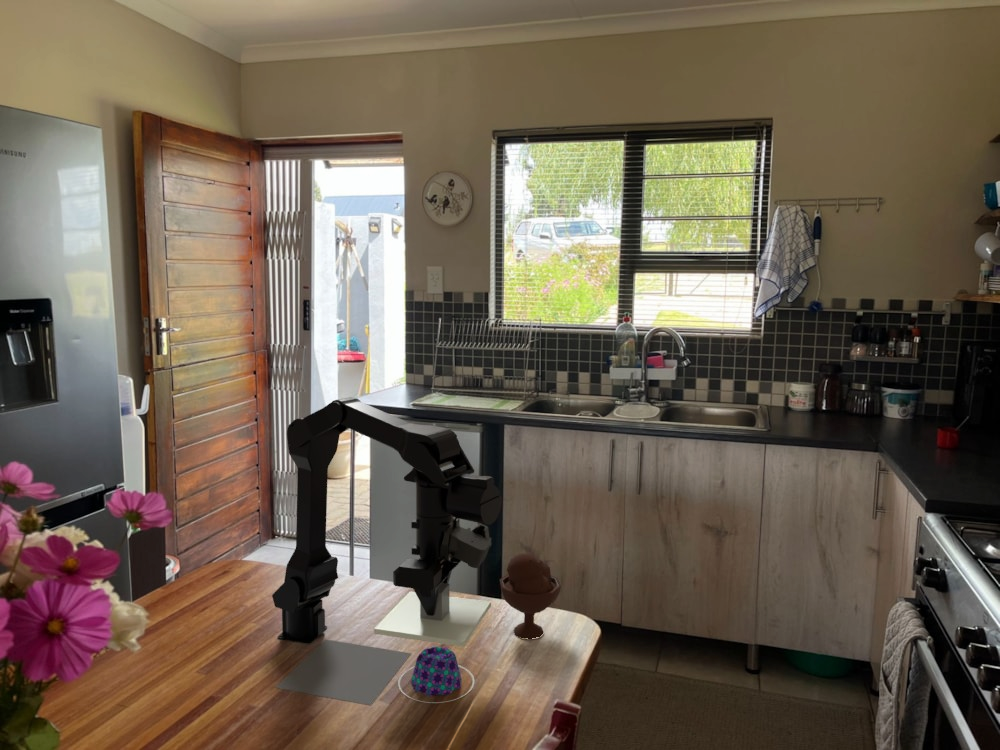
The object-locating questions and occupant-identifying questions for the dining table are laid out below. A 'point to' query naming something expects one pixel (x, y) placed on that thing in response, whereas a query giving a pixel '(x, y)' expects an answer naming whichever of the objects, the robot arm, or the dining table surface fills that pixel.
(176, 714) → the dining table surface
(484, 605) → the lid
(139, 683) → the dining table surface
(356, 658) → the mat
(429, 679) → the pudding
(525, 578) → the ice cream bowl
